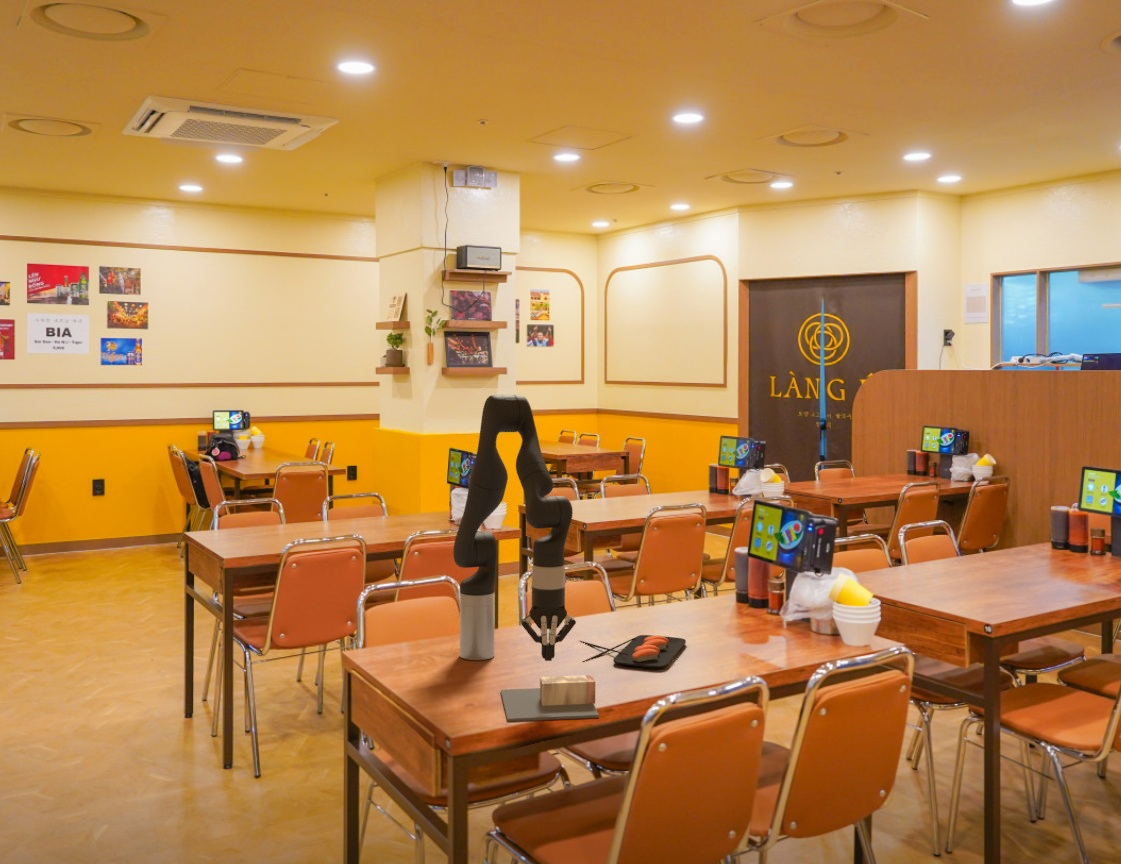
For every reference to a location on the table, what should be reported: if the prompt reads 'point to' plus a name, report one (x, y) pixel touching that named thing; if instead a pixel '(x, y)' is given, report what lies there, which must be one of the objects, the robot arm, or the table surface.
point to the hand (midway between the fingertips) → (547, 659)
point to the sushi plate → (646, 651)
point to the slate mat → (541, 707)
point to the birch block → (567, 690)
